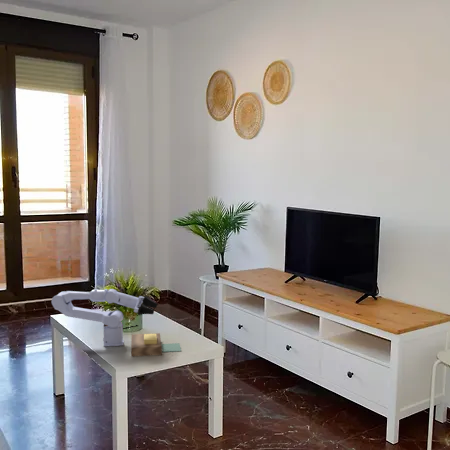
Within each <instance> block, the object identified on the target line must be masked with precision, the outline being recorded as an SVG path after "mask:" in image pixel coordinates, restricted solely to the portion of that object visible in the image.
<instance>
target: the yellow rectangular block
mask: <svg viewBox="0 0 450 450" xmlns="http://www.w3.org/2000/svg"><path fill="white" fill-rule="evenodd" d="M143 334H144V344H157V336H156V334H155V333H143Z"/></svg>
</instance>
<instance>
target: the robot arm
mask: <svg viewBox="0 0 450 450" xmlns="http://www.w3.org/2000/svg"><path fill="white" fill-rule="evenodd" d="M74 300H90V301H91V302H94V303H95V302H102V303H105V302H107V304H113V303H114V304H117V305H120V306H123V307H127V308H131V309H133V313H137V315H139V316H140V315H154V313H155V309H156V308H157V307H158V303H157V302H155V301H153V300H152V299H150V298H149V296H147V295H145V296H142V295H139V296H138V297H137V296H134V295H130V294H126V293H123V292H120V291H118V290H117V289H114V288H109V289H107V288H105V289H98V288H94V289H92V290H91V291H90V292H89V291H75V290H74V291H73V290H66V291H65V290H64V291H61V292H58V294H56V295H54V296H53V297H52V298H51V305H52V307H53V308H54V310H56V311H59V312H60V313H61V314H63V315H64V316H66V317H68V318H74V319H81V320H85V321H86V320H87V321H93V322H99V323H102V324H103V337H102V338H103V339H102V341H103V347H115V346H116V347H117V346H121V347H122V346H124V345H125V344H124V343H125V340H124V337H123V336H124V334H123V333H124V332H123V324H122V322H121V321H122V320H123V319H124V313H123V312H122V311H120V310H113V311H110V310H109V311H100V310H96V309H89V308H83V307H78V306H74V305H73V303H72V301H74ZM153 308H155V309H153ZM104 325H108V326H105V327H104Z"/></svg>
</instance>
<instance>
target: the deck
mask: <svg viewBox="0 0 450 450" xmlns="http://www.w3.org/2000/svg"><path fill="white" fill-rule="evenodd" d="M144 334H145V333H134V334H131V341H130V342H131V343H130V345H131V347H130V350H131V351H130V352H131V354H130V357H142V356H143V357H145V356H147V357H149V356H162V353H163V352H162V346H161V344H162V341H161V333H160V332H159V333H158V332H157V333H154V334H156V336H157V344H144Z"/></svg>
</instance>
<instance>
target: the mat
mask: <svg viewBox="0 0 450 450" xmlns="http://www.w3.org/2000/svg"><path fill="white" fill-rule="evenodd" d="M180 344H181V343H177V342H176V343H175V342H173V343H161V346H162V353H176V352H182V349H181V348H182V347H181V345H180Z"/></svg>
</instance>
